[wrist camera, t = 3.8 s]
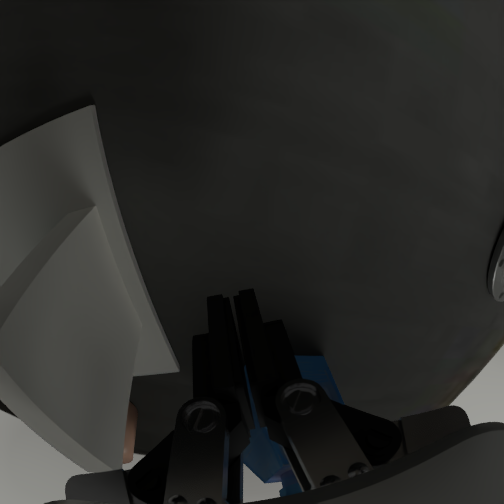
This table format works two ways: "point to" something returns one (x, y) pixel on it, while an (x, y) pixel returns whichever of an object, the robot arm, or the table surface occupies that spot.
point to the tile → (70, 343)
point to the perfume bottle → (271, 453)
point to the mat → (70, 200)
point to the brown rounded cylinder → (130, 433)
